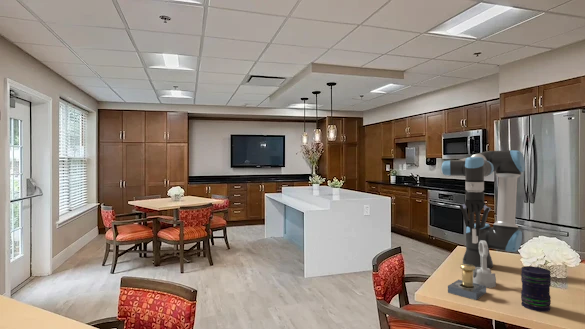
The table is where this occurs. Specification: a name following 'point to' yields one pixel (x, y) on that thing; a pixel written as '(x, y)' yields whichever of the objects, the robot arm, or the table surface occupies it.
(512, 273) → the table surface
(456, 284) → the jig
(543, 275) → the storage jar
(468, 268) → the brass flared knob
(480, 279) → the engine component
